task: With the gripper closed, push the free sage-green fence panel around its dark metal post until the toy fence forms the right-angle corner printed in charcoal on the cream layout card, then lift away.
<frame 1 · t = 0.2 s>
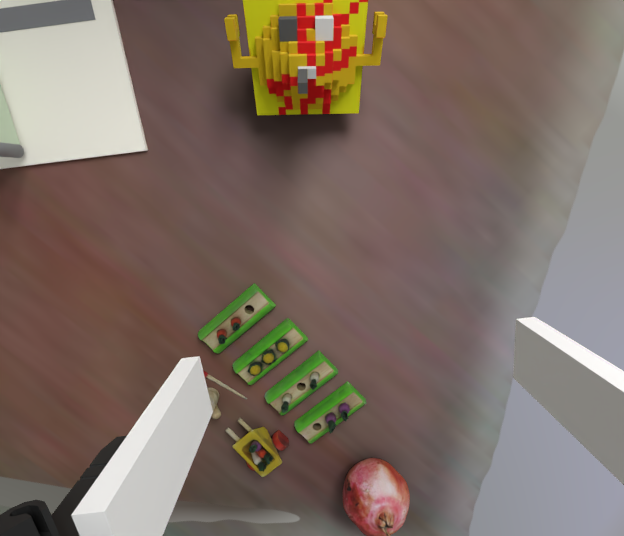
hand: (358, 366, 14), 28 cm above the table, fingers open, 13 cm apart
toy: (306, 71, 36), on the table
toy garden set: (262, 382, 47), on the table
fruit: (370, 471, 50), on the table
layout card: (35, 41, 35), on the table
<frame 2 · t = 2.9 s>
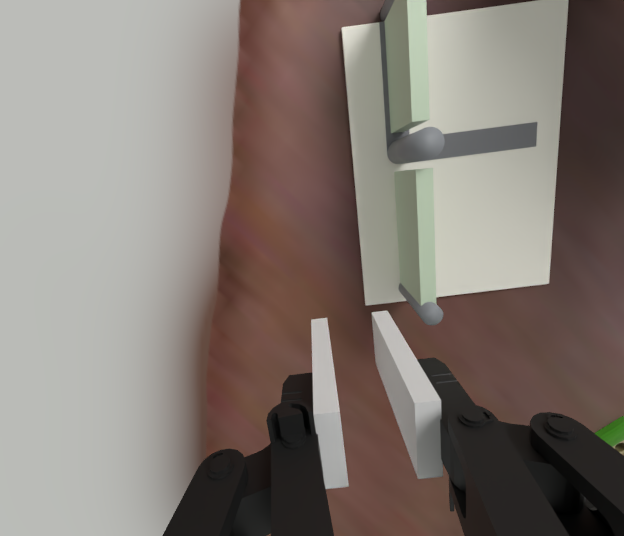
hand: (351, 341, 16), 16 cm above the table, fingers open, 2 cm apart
toy garden set: (590, 511, 42), on the table
layout card: (453, 168, 30), on the table
fence fixed: (397, 152, 29), resting on layout card
fence panel: (415, 243, 27), point 4 cm above the table, hinge at 0.0°
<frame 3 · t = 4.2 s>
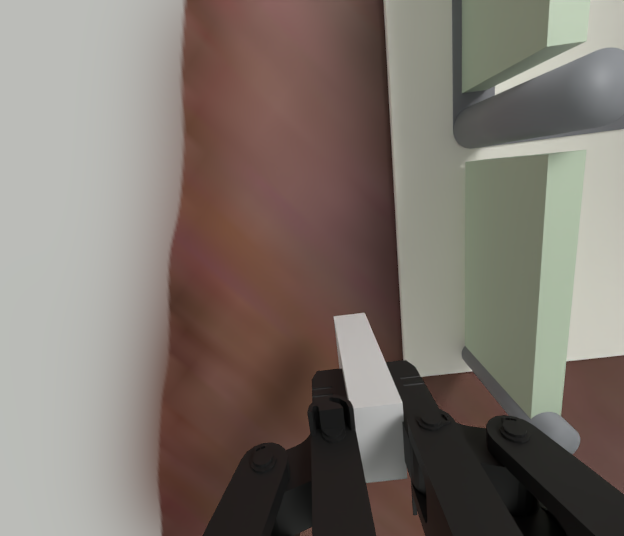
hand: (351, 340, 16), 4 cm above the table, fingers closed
layout card: (565, 156, 17), on the table
fence fixed: (469, 128, 17), resting on layout card
fence panel: (512, 292, 15), point 4 cm above the table, hinge at 0.0°
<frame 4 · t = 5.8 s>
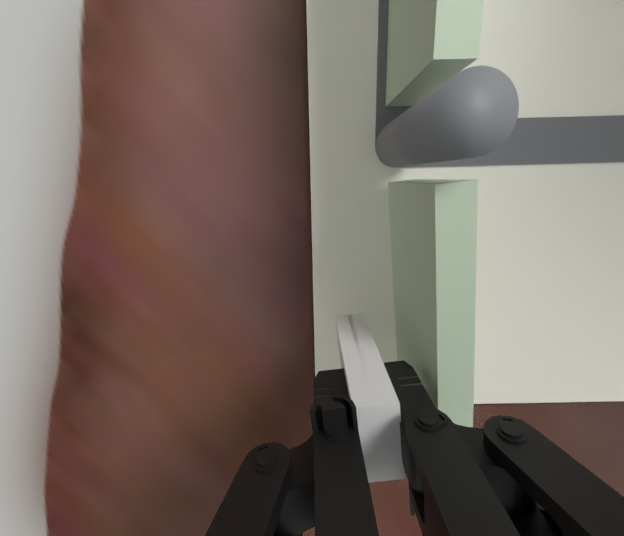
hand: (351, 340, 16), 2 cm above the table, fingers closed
layout card: (496, 186, 16), on the table
fence fixed: (394, 145, 16), resting on layout card
fence panel: (428, 329, 13), point 4 cm above the table, hinge at 5.1°, touching gripper
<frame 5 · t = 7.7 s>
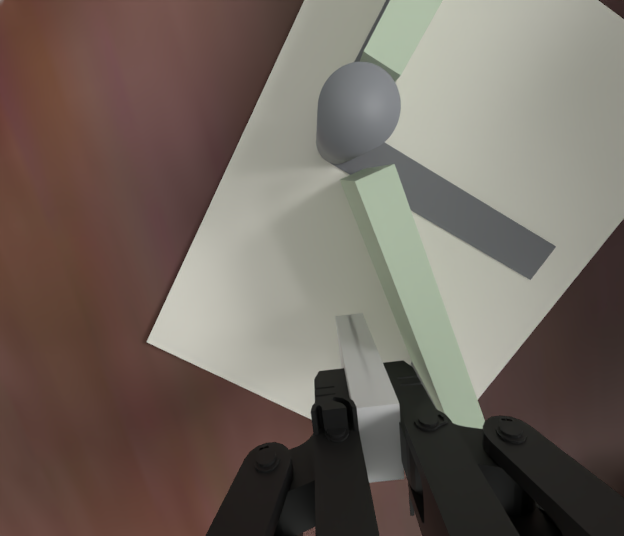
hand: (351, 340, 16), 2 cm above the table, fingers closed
layout card: (402, 229, 17), on the table
fence fixed: (337, 142, 16), resting on layout card
fence panel: (413, 310, 13), point 4 cm above the table, hinge at 52.5°, touching gripper
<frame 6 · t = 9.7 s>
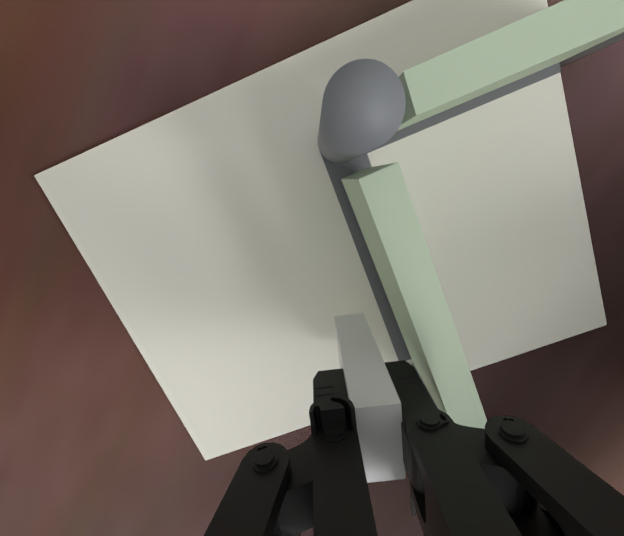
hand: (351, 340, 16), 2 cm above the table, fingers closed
layout card: (336, 252, 17), on the table
fence fixed: (338, 141, 16), resting on layout card
fence panel: (415, 310, 13), point 4 cm above the table, hinge at 91.2°, touching gripper
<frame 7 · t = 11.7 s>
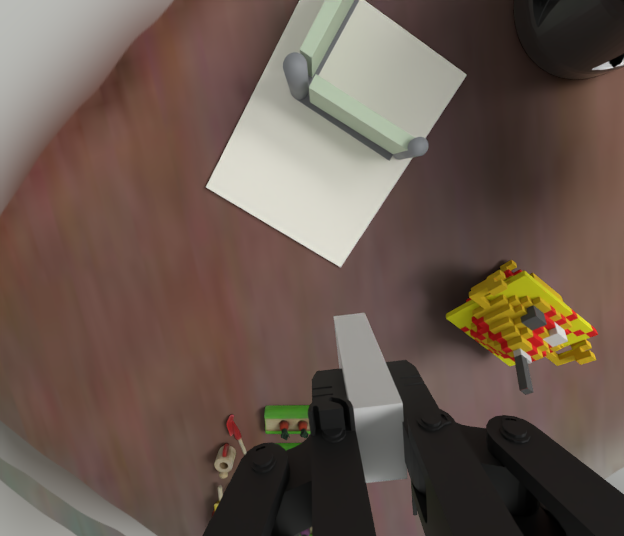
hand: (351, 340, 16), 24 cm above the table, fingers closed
toy: (494, 302, 41), on the table
toy garden set: (274, 467, 49), on the table
layout card: (330, 134, 36), on the table
fence fixed: (299, 90, 35), resting on layout card
fence panel: (365, 121, 31), point 4 cm above the table, hinge at 91.4°
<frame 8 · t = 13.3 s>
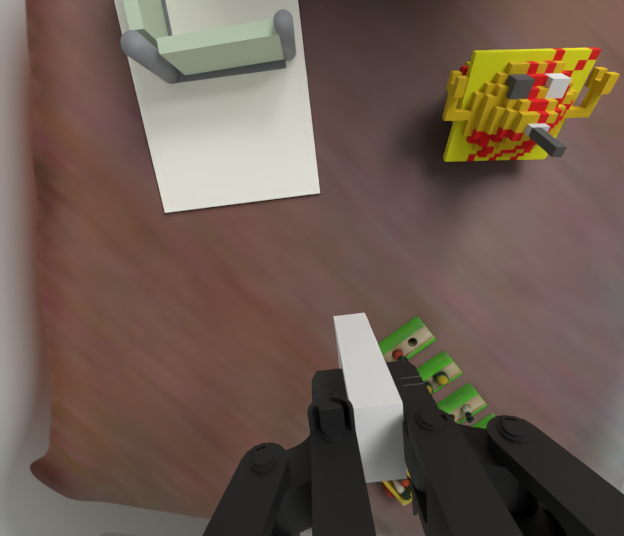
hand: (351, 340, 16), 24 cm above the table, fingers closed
toy: (485, 115, 36), on the table
toy garden set: (405, 410, 47), on the table
layout card: (222, 88, 35), on the table
fence fixed: (172, 74, 35), resting on layout card
fence panel: (232, 46, 30), point 4 cm above the table, hinge at 91.4°
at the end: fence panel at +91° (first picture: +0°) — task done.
